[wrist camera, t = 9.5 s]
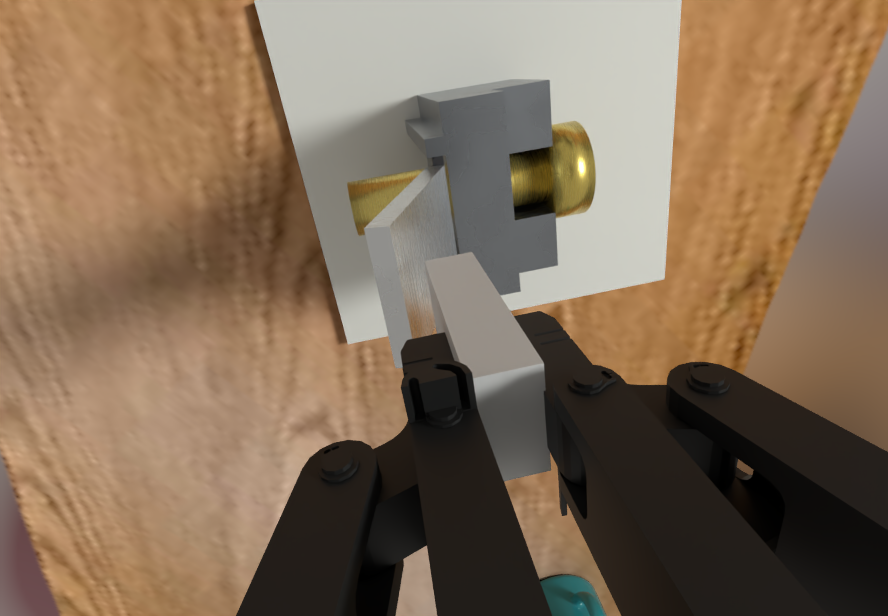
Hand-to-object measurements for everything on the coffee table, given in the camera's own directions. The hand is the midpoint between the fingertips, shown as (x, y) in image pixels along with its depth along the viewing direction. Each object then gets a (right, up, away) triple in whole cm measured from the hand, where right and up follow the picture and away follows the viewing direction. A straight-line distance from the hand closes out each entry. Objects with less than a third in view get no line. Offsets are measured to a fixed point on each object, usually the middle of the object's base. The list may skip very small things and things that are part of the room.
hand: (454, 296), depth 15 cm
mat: (+3, +9, +18) cm, 20 cm away
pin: (+1, +8, +15) cm, 17 cm away
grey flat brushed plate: (0, +4, +8) cm, 9 cm away
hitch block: (+2, +9, +17) cm, 20 cm away
